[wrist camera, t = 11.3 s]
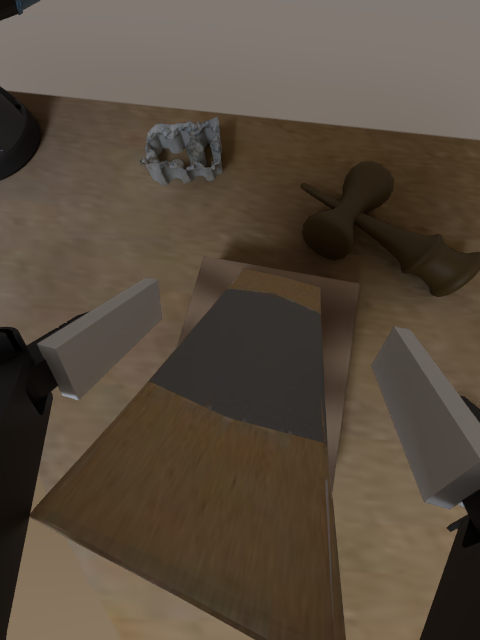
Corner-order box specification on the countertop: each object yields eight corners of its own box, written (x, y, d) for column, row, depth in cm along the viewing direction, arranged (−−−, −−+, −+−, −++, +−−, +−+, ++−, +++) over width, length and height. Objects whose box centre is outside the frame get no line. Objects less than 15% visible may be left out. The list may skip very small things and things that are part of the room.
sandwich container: (323, 287, 22) (448, 118, 7) (283, 450, 19) (358, 707, 4) (240, 266, 23) (207, 88, 9) (190, 416, 20) (12, 527, 6)
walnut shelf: (212, 273, 28) (204, 256, 24) (344, 297, 26) (359, 283, 22) (164, 443, 24) (144, 457, 20) (316, 489, 22) (329, 516, 18)
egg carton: (150, 189, 32) (134, 163, 28) (156, 147, 34) (142, 118, 30) (223, 184, 31) (217, 157, 27) (225, 142, 33) (220, 110, 29)
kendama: (417, 322, 25) (273, 228, 29) (458, 260, 27) (316, 178, 30) (468, 306, 19) (279, 191, 23) (516, 228, 21) (332, 132, 24)
